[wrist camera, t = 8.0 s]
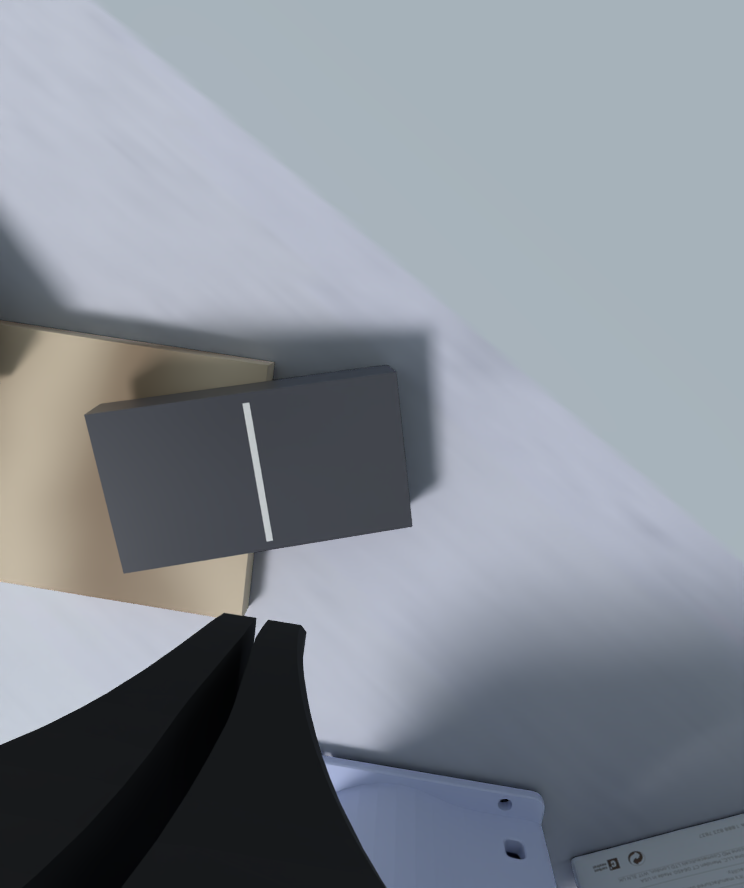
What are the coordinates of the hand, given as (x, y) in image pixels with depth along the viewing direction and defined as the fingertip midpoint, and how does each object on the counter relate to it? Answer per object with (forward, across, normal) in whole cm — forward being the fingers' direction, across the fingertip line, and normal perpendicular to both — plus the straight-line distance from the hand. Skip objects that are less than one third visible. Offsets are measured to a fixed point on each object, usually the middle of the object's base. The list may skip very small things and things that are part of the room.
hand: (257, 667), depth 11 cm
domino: (+8, +6, 0) cm, 10 cm away
